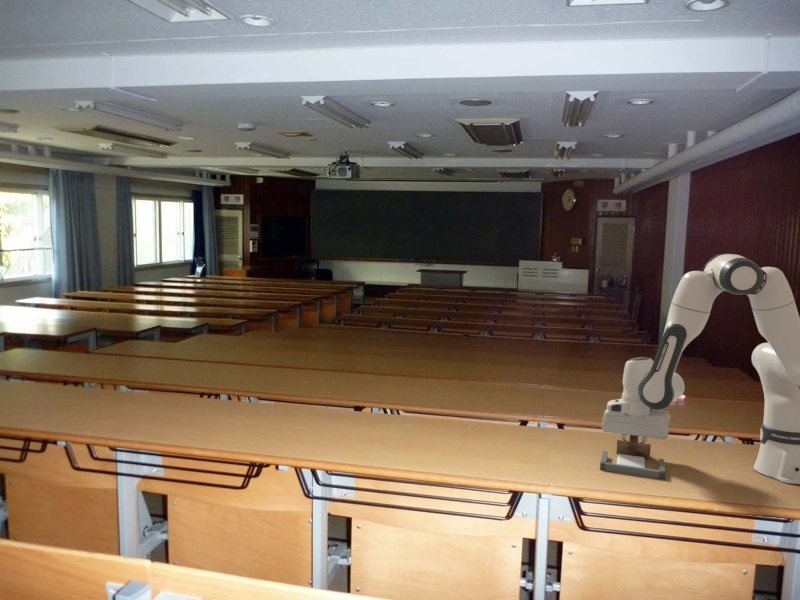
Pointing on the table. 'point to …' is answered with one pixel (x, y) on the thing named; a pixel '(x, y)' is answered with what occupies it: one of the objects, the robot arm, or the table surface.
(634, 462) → the hard drive
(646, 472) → the bay
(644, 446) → the pusher
